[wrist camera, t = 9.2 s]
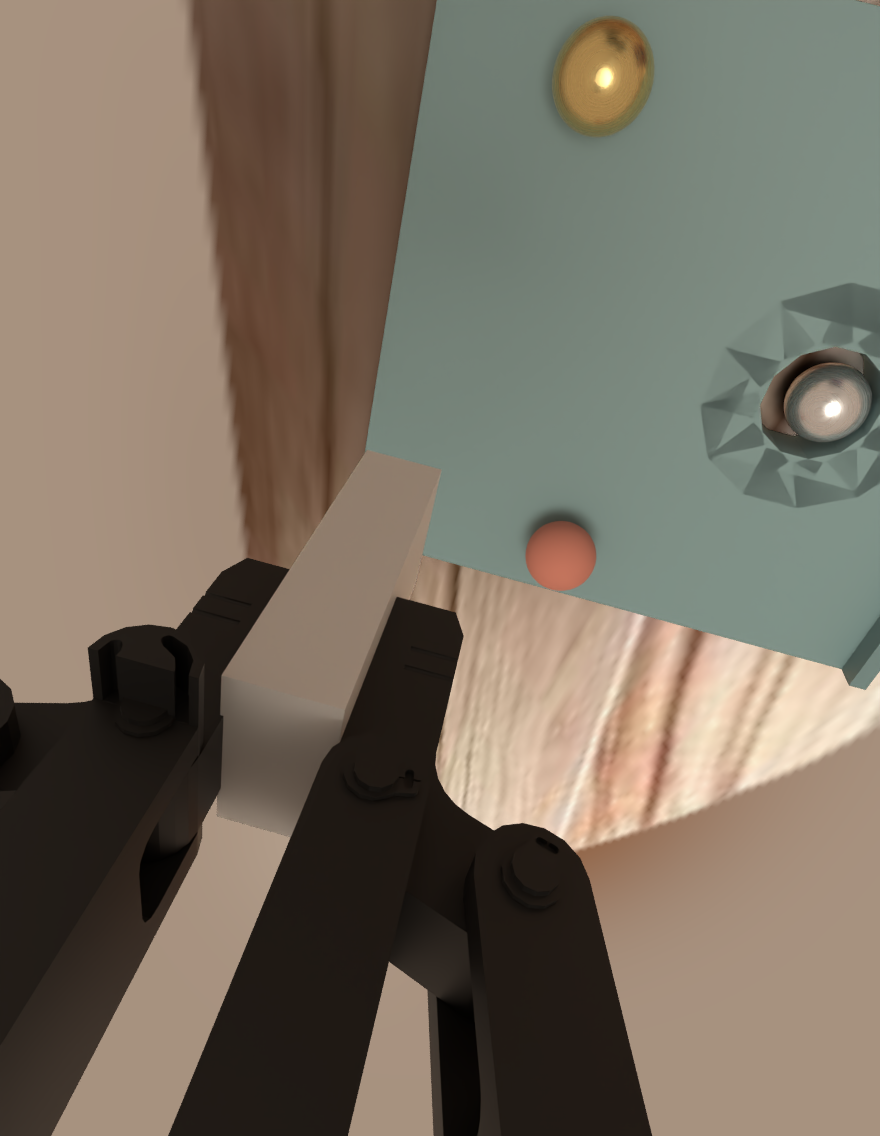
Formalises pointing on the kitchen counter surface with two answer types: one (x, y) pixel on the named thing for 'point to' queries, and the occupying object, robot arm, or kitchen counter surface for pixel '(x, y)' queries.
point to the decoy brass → (603, 76)
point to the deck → (648, 313)
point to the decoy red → (560, 555)
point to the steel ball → (827, 402)
